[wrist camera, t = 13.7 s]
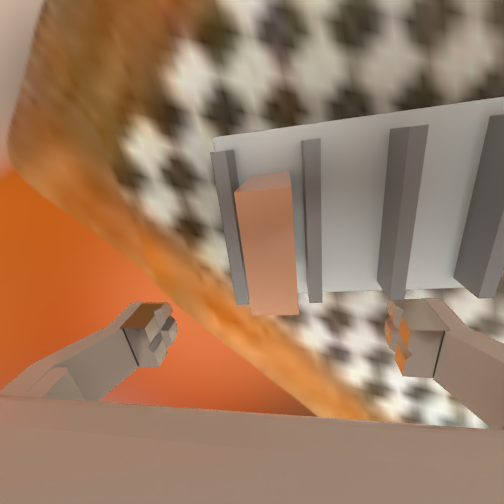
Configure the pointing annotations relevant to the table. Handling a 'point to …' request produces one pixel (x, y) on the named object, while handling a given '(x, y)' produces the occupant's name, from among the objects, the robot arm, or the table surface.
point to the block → (268, 243)
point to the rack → (381, 199)
